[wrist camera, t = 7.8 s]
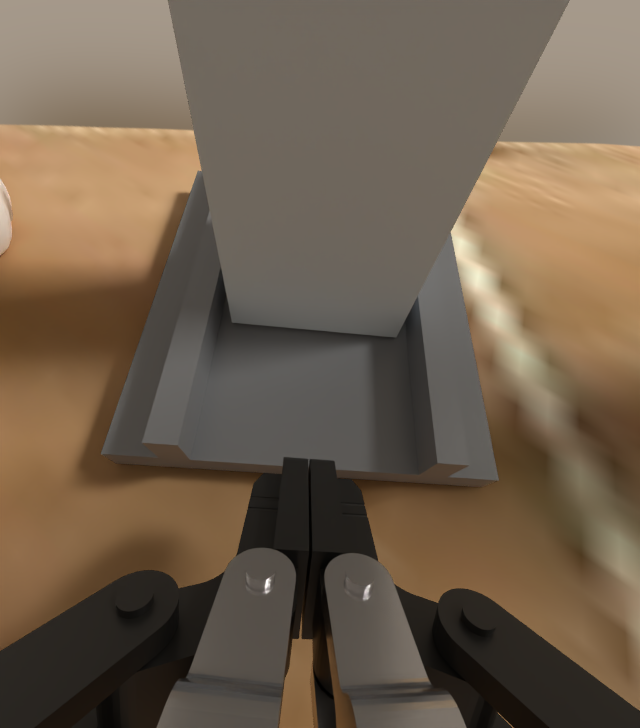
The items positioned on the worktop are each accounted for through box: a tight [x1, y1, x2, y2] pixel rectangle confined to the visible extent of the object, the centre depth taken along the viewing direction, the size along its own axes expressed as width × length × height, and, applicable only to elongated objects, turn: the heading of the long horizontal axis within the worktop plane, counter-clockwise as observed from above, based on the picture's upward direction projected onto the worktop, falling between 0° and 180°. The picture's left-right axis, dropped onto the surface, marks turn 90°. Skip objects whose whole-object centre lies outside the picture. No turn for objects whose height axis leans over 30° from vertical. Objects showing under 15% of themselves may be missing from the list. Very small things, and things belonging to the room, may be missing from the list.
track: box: [101, 171, 499, 487], centre depth 18 cm, size 16×18×4 cm
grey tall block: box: [168, 0, 569, 338], centre depth 12 cm, size 8×5×14 cm, turn 88°
